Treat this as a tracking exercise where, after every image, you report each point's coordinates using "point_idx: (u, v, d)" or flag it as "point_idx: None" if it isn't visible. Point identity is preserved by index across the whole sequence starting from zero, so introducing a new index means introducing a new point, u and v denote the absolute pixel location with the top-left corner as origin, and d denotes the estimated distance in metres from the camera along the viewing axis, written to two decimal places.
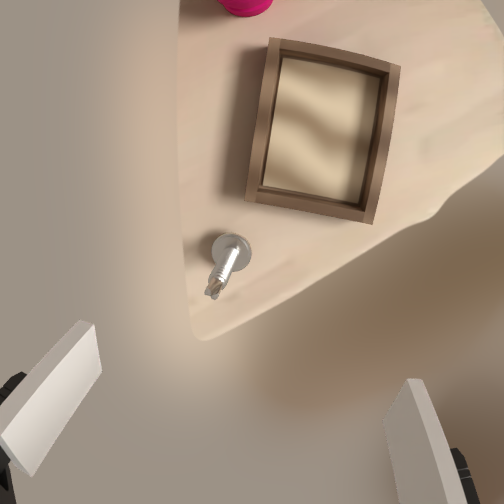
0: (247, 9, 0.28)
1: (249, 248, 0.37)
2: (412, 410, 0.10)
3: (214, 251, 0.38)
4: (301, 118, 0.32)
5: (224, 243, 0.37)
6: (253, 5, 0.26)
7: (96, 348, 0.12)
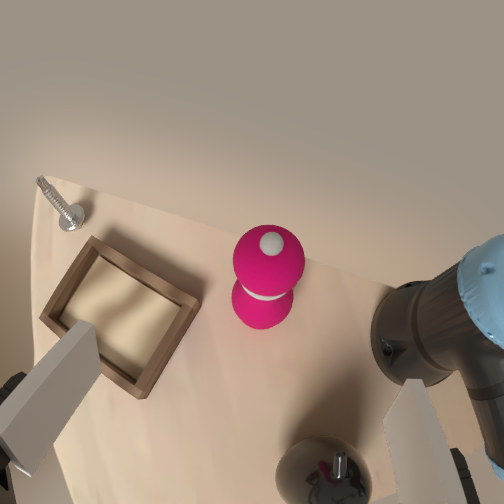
0: None
1: (67, 230, 0.43)
2: (412, 410, 0.10)
3: (77, 206, 0.44)
4: (129, 302, 0.40)
5: (77, 214, 0.44)
6: None
7: (96, 348, 0.12)
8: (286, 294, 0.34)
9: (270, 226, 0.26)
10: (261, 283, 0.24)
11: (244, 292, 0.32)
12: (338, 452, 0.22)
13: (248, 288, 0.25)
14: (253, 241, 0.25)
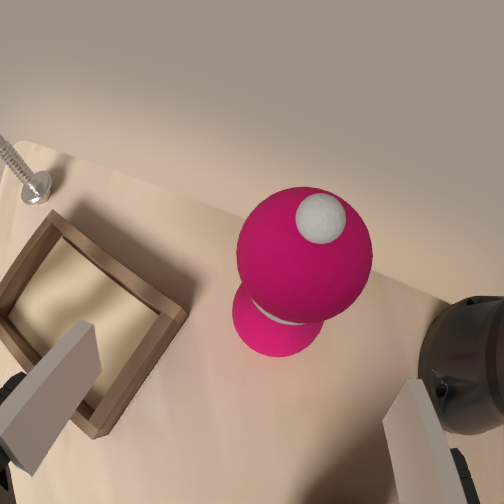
0: None
1: (28, 202, 0.31)
2: (412, 410, 0.10)
3: (44, 173, 0.32)
4: (91, 302, 0.27)
5: (43, 183, 0.31)
6: None
7: (96, 348, 0.12)
8: None
9: (312, 189, 0.13)
10: (292, 299, 0.12)
11: (253, 305, 0.20)
12: None
13: (263, 306, 0.13)
14: (280, 213, 0.12)
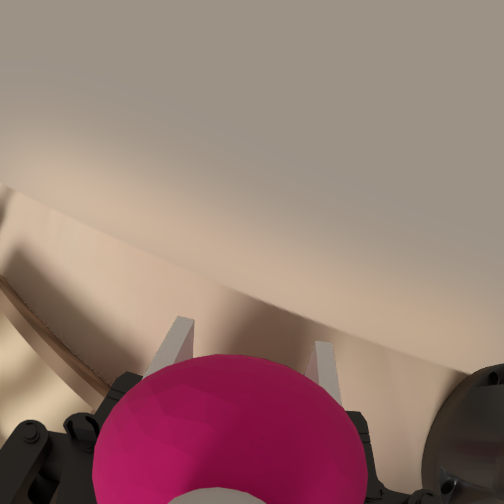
0: None
1: None
2: (314, 369, 0.12)
3: None
4: (25, 379, 0.19)
5: None
6: None
7: (192, 343, 0.13)
8: None
9: (234, 389, 0.05)
10: None
11: None
12: None
13: None
14: (139, 474, 0.04)
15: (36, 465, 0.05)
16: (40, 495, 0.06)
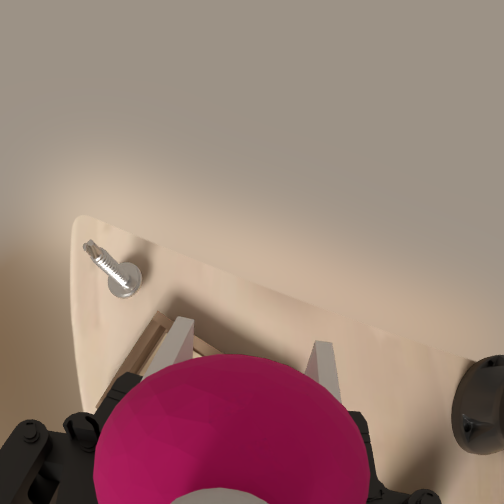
0: None
1: (120, 296, 0.37)
2: (315, 369, 0.12)
3: (131, 266, 0.39)
4: None
5: (133, 277, 0.38)
6: None
7: (192, 343, 0.13)
8: None
9: (236, 389, 0.05)
10: None
11: None
12: None
13: None
14: (141, 474, 0.04)
15: (36, 465, 0.05)
16: (40, 495, 0.06)
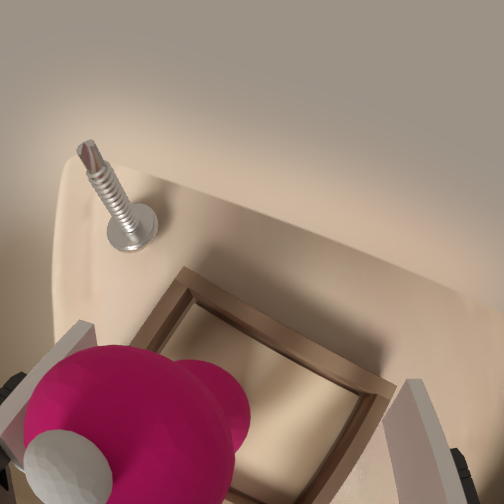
0: None
1: (124, 249, 0.25)
2: (412, 410, 0.10)
3: (143, 207, 0.27)
4: (264, 391, 0.22)
5: (146, 222, 0.26)
6: None
7: None
8: None
9: (104, 369, 0.06)
10: None
11: None
12: None
13: None
14: (40, 422, 0.05)
15: None
16: None
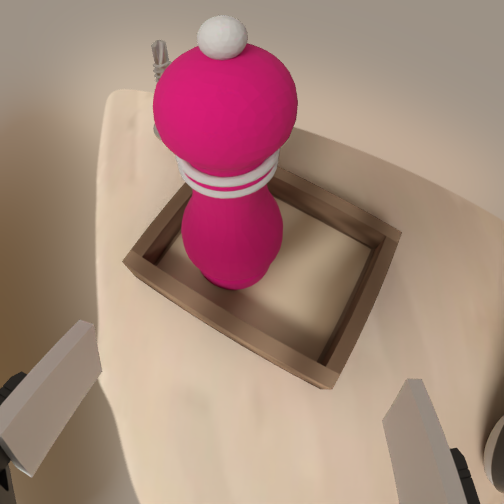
0: None
1: None
2: (412, 410, 0.10)
3: None
4: (289, 239, 0.27)
5: None
6: None
7: (96, 348, 0.12)
8: (269, 215, 0.19)
9: None
10: (195, 115, 0.10)
11: (193, 203, 0.18)
12: None
13: (174, 144, 0.11)
14: (190, 51, 0.10)
15: None
16: None
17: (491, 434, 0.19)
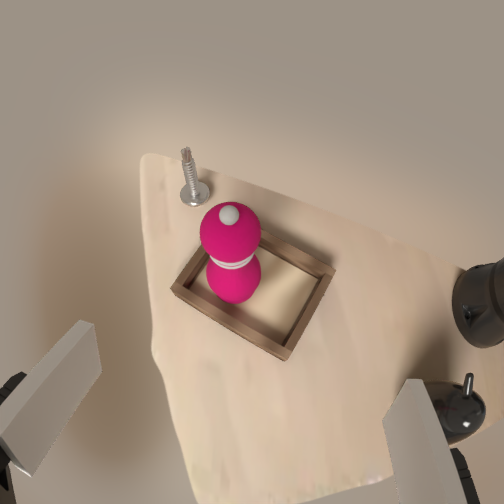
0: None
1: (192, 204, 0.50)
2: (412, 410, 0.10)
3: (201, 183, 0.51)
4: (267, 273, 0.46)
5: (203, 191, 0.50)
6: None
7: (96, 348, 0.12)
8: (252, 268, 0.38)
9: (231, 202, 0.30)
10: (220, 248, 0.29)
11: (214, 264, 0.37)
12: (468, 373, 0.28)
13: (211, 254, 0.30)
14: (215, 214, 0.29)
15: None
16: None
17: None
